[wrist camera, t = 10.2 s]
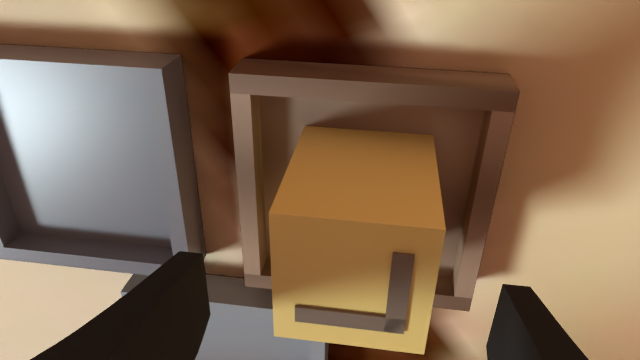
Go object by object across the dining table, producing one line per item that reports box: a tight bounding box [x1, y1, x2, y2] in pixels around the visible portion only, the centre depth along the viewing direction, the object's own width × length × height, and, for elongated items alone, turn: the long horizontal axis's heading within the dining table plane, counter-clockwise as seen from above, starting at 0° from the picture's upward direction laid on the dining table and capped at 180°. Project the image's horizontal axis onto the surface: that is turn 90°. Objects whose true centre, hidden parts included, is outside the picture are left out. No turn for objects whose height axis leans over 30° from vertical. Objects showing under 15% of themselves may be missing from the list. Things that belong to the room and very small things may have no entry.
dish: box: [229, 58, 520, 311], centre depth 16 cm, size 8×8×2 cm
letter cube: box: [269, 126, 446, 354], centre depth 14 cm, size 4×4×5 cm
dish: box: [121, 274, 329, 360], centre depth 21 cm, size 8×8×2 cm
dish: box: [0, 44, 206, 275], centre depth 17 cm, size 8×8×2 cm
